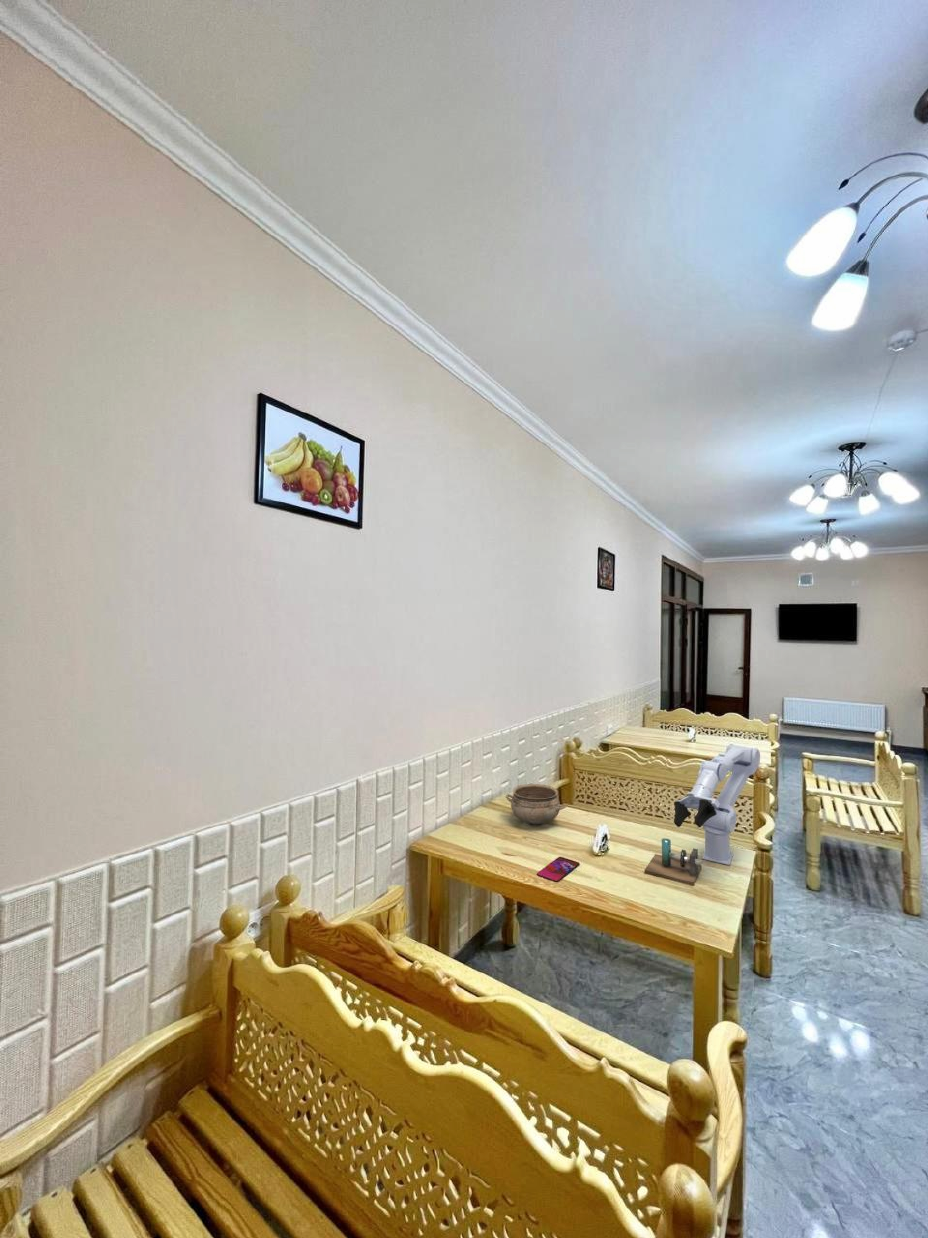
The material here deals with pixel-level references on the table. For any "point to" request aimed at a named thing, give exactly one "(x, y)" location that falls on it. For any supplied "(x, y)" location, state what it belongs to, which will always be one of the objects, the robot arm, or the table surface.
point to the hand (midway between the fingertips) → (686, 824)
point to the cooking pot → (535, 803)
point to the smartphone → (558, 869)
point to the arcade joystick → (674, 855)
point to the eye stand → (675, 869)
